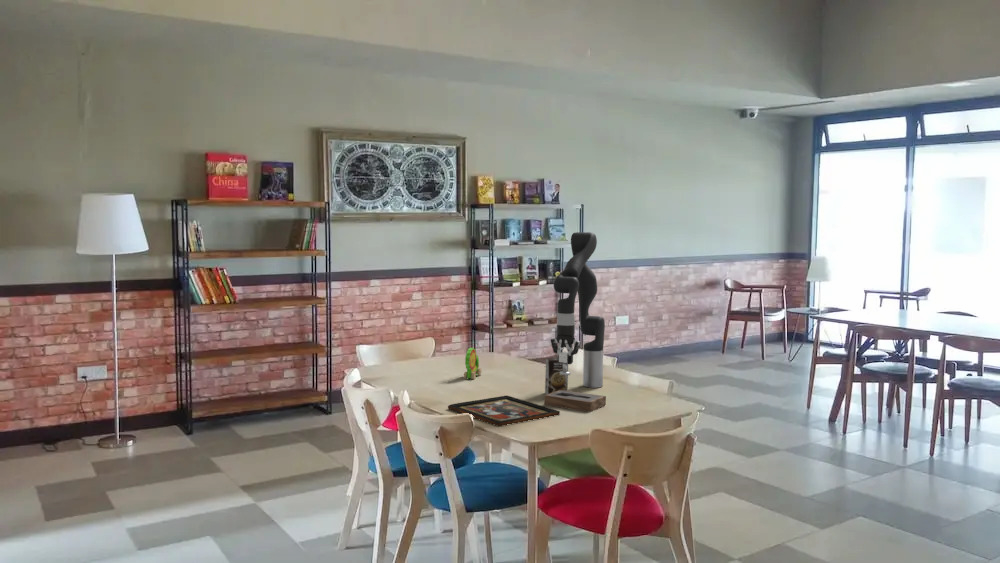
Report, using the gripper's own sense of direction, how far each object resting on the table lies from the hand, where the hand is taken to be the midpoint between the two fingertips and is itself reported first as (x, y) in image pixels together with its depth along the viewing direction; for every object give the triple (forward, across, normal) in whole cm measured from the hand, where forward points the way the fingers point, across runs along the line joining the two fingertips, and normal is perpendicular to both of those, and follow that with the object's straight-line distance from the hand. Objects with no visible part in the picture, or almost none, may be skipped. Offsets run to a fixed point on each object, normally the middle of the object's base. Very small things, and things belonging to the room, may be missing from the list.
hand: (565, 363), depth 346 cm
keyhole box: (+17, -5, 0) cm, 18 cm away
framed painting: (+18, +13, +28) cm, 36 cm away
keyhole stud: (+5, 0, 0) cm, 5 cm away
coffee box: (+18, +12, -14) cm, 25 cm away
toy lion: (+18, +65, -23) cm, 71 cm away
